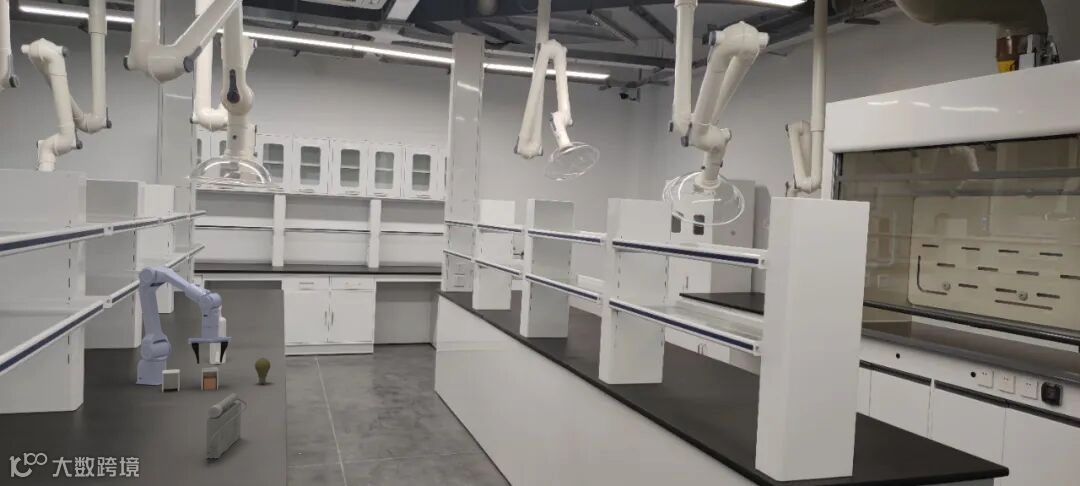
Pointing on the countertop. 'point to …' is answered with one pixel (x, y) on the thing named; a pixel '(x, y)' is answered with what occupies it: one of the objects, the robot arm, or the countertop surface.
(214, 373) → the right cover
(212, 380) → the cube
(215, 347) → the white bottle
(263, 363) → the light bulb
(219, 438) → the geiger counter
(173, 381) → the left cover
